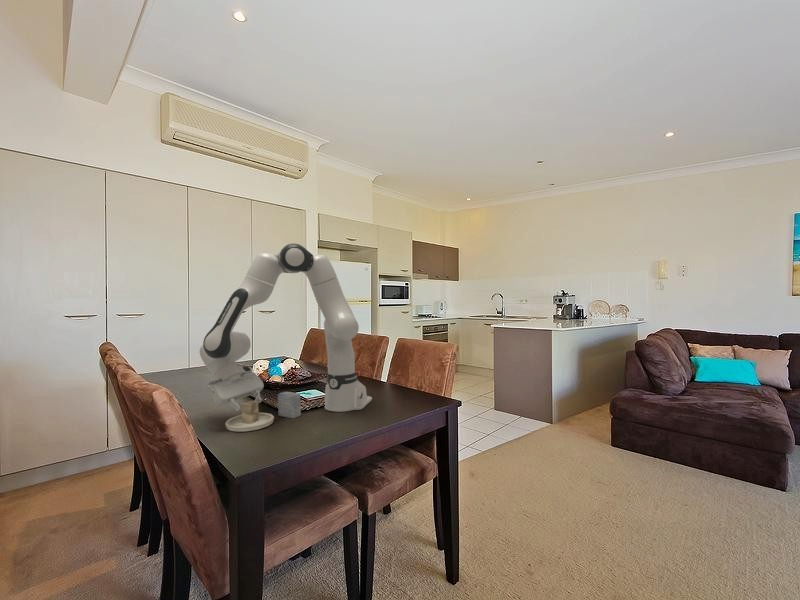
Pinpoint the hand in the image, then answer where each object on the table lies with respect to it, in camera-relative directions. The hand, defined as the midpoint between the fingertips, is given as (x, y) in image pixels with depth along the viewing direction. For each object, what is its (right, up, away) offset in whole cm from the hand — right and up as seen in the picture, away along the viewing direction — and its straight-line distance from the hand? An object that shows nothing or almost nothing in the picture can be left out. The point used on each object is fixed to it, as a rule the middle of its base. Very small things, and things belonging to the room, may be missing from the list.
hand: (250, 405), depth 139 cm
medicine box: (+12, -7, +9) cm, 16 cm away
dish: (0, -7, 0) cm, 7 cm away
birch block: (0, -6, 0) cm, 6 cm away
